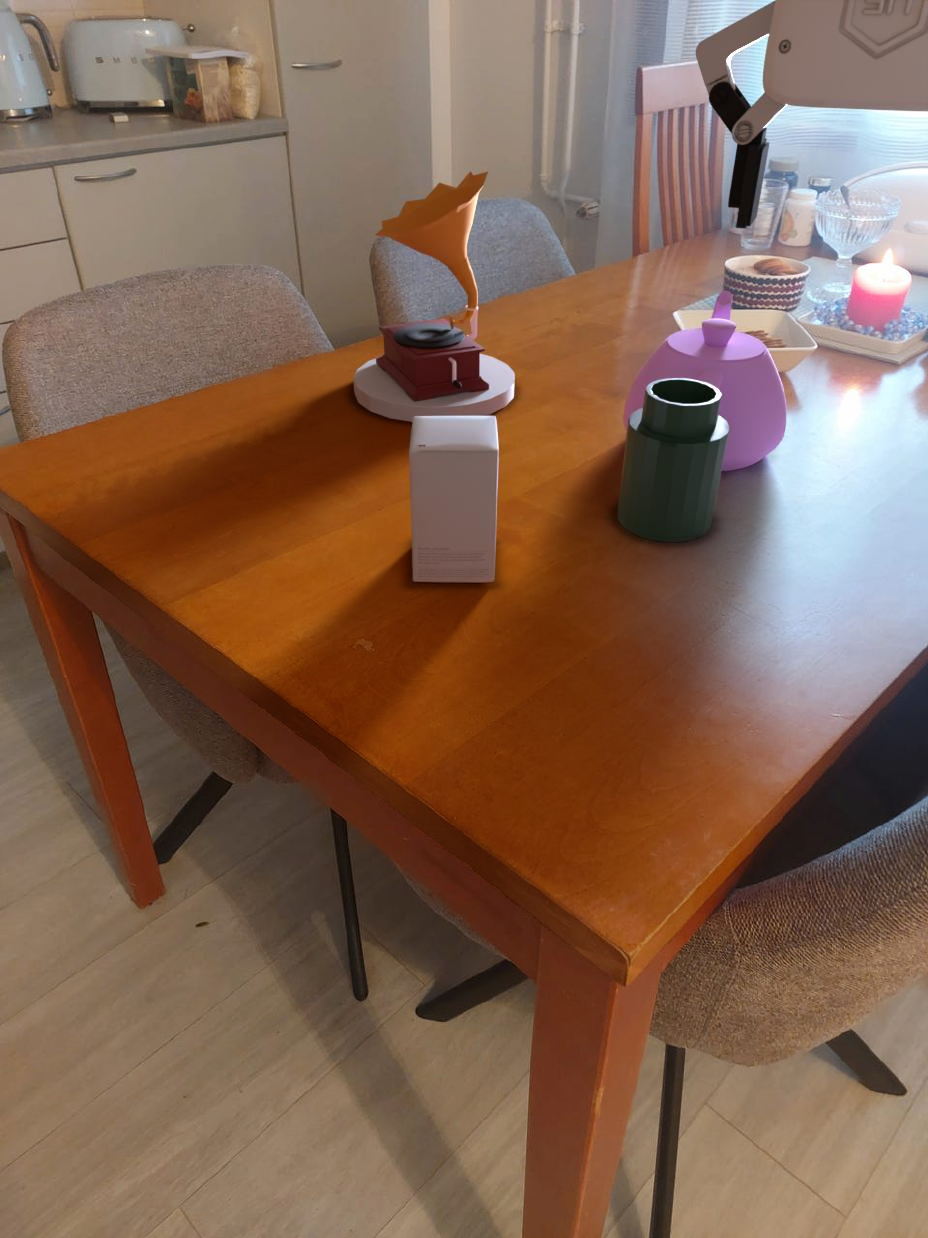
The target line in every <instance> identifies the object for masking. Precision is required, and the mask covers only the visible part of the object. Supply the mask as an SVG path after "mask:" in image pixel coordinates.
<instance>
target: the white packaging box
mask: <svg viewBox="0 0 928 1238" xmlns="http://www.w3.org/2000/svg"><path fill="white" fill-rule="evenodd" d="M411 423H412V425H411V431H410V432H411V433H410V442H409V449H408V461H409V463H408V464H409V468H408V469H409V493H410V494H409V495H410V499H409V500H410V527H411V529H410V530H411V563H412V581H413V582H415V583H417V582H418V583H482V584H483V583H485V584H486V583H494V582H495V576H496V574H495V573H496V550H497V549H496V547H497V546H496V545H497V519H498V518H497V515H498V514H497V513H498V509H497V508H498V486H499V451H500V450H499V434H498V422H497V417H496V415H486V416H414V417H413V422H411Z"/></svg>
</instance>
